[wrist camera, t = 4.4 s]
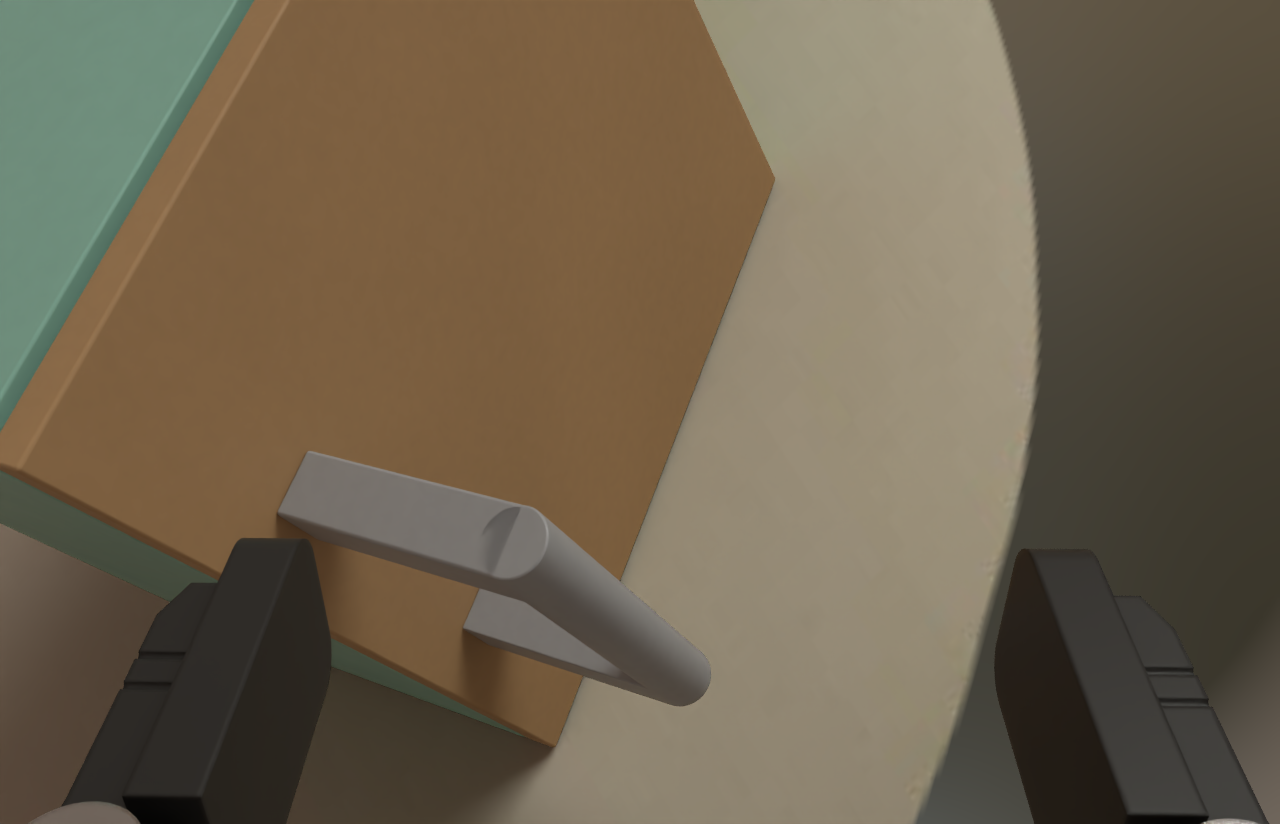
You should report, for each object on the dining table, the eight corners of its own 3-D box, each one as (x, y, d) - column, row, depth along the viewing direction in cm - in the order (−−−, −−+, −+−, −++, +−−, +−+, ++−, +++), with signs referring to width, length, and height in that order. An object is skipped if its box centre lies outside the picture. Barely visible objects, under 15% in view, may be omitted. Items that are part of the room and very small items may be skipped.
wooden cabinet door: (952, 194, 43) (784, -443, 25) (746, 819, 36) (302, 561, 18) (752, 176, 47) (480, -389, 29) (530, 739, 40) (-20, 460, 21)
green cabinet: (747, 178, 47) (468, -393, 29) (526, 738, 40) (-35, 454, 21) (461, 153, 54) (86, -323, 35) (227, 628, 46) (-395, 340, 28)
